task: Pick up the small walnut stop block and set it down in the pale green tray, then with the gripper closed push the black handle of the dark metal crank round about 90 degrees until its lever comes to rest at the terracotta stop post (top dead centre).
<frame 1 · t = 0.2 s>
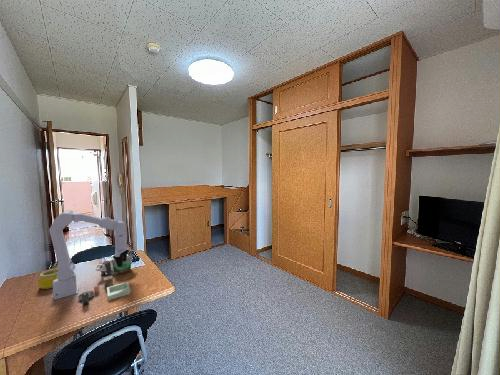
hand: (122, 263, 129), 10 cm above the table, fingers open, 7 cm apart
tray: (118, 292, 116), on the table
mug: (53, 286, 123), on the table
stop block: (108, 286, 122), on the table
giant panda: (107, 274, 136), on the table
crank: (85, 294, 109), point 3 cm above the table, hinge at 0.0°
stop post: (96, 292, 116), on the table
food container: (124, 273, 138), on the table
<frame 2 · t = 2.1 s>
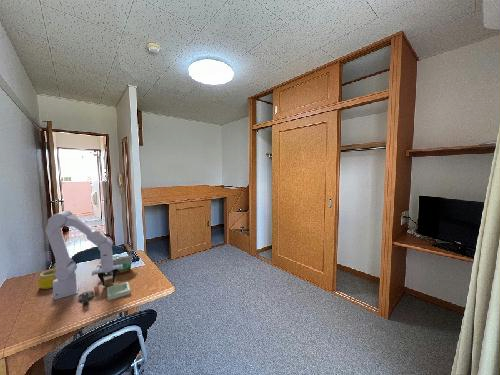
hand: (108, 283, 122), 1 cm above the table, fingers closed on stop block, 4 cm apart
stop block: (108, 286, 122), on the table, touching gripper
everything else where it was.
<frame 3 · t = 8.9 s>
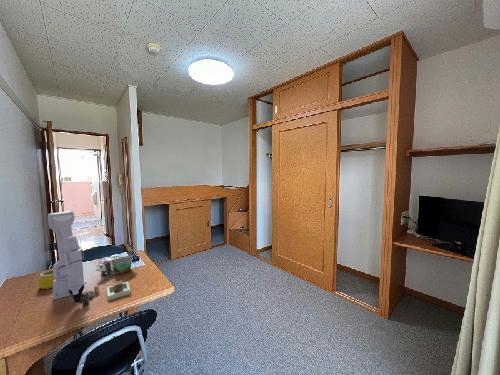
hand: (78, 301, 104), 2 cm above the table, fingers closed, pressing on crank
stop block: (118, 291, 116), resting on tray
crank: (85, 294, 109), point 3 cm above the table, hinge at 0.2°, touching gripper
everything else where it was.
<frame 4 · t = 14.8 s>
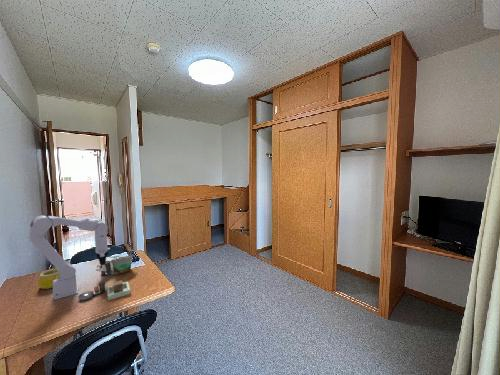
hand: (102, 264, 127), 10 cm above the table, fingers closed
crank: (92, 290, 113), point 3 cm above the table, hinge at 93.0°
everything else where it was.
at the end: crank at +93° (first picture: +0°); stop block inside the target area on the tray (0.3 cm from its centre), point 0.4 cm above the tray's base; the gripper is holding nothing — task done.
